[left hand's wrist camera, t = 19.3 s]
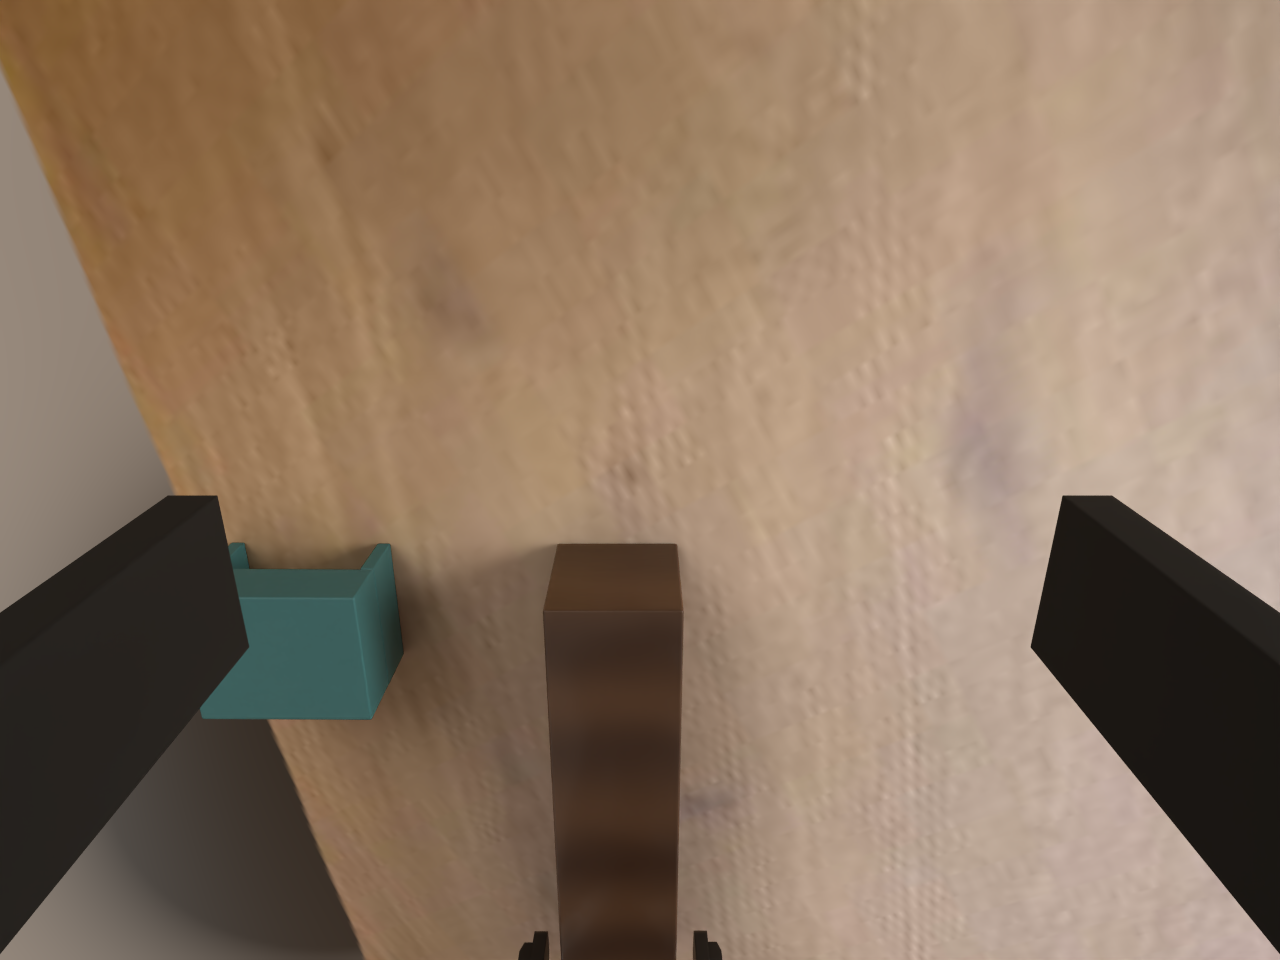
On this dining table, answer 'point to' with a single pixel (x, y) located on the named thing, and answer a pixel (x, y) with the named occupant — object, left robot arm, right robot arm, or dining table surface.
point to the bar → (615, 746)
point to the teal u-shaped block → (312, 642)
